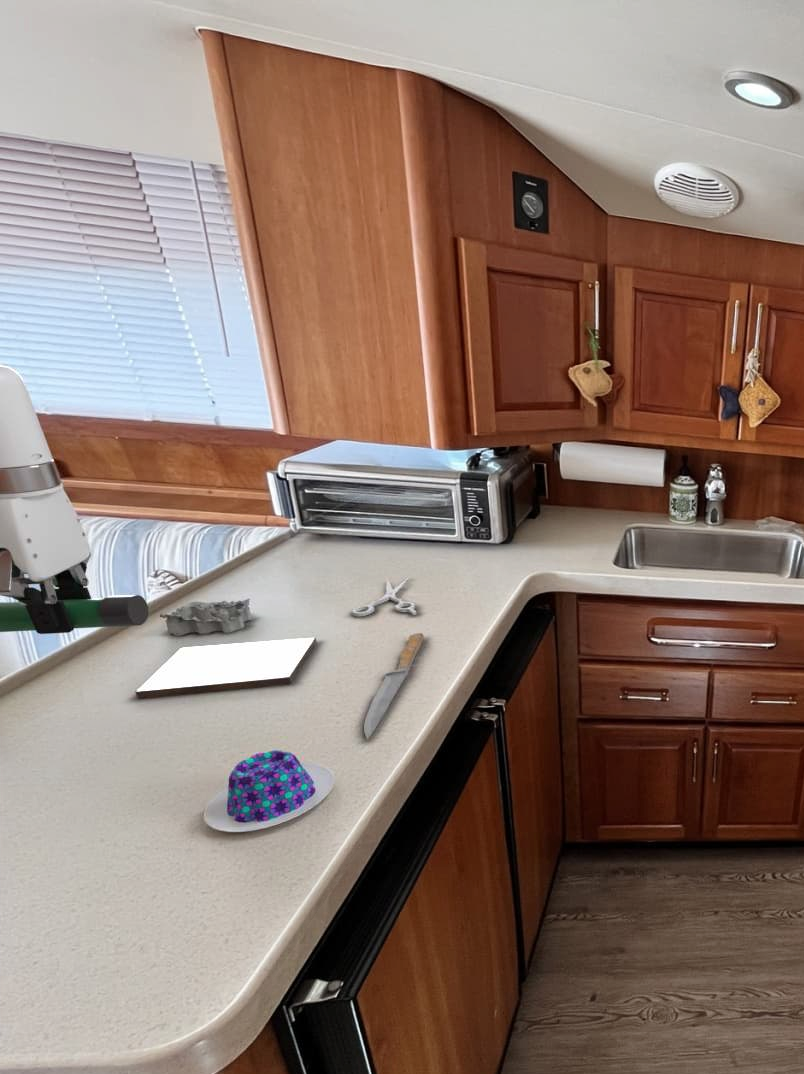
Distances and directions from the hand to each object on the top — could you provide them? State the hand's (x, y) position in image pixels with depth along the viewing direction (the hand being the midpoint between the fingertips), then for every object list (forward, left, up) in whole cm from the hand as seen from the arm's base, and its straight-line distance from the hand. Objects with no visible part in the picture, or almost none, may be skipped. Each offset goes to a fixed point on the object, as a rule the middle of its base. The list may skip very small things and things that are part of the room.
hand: (68, 623), depth 79 cm
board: (+9, +14, -15) cm, 23 cm away
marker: (0, 0, -1) cm, 1 cm away
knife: (+32, +4, -15) cm, 36 cm away
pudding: (+24, -22, -15) cm, 36 cm away
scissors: (+26, +40, -15) cm, 50 cm away
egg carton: (0, +32, -15) cm, 35 cm away
